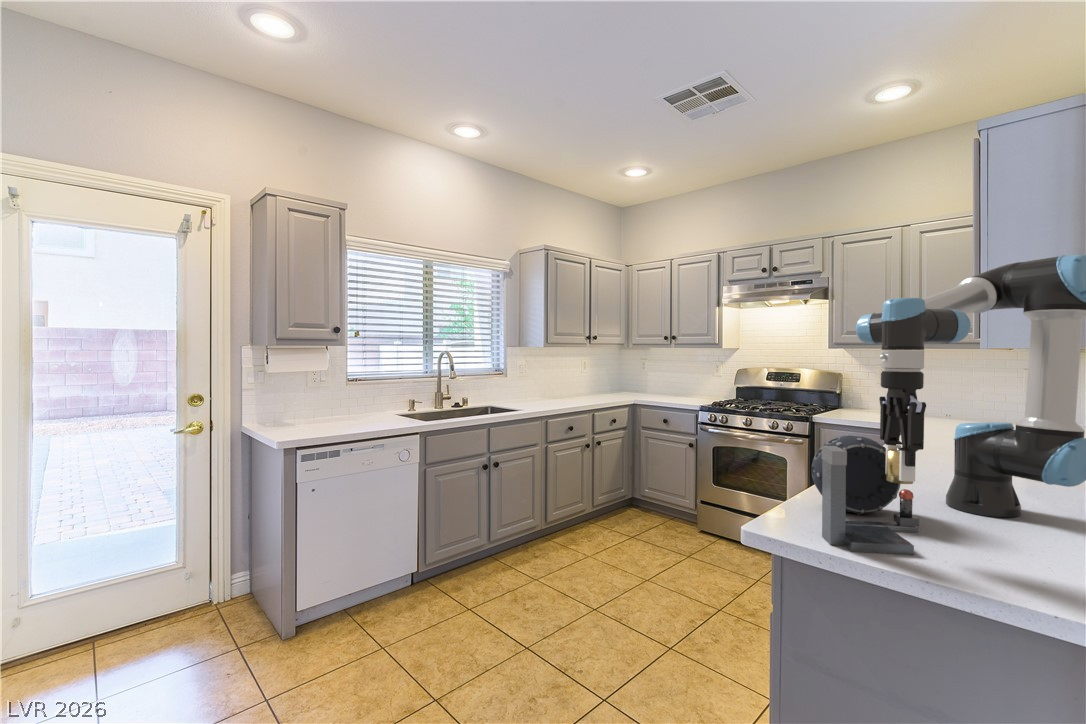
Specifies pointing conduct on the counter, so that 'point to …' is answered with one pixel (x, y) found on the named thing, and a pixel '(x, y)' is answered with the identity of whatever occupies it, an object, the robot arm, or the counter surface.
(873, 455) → the dark studded drum
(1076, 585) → the counter surface
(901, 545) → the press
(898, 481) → the cylinder
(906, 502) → the lever
